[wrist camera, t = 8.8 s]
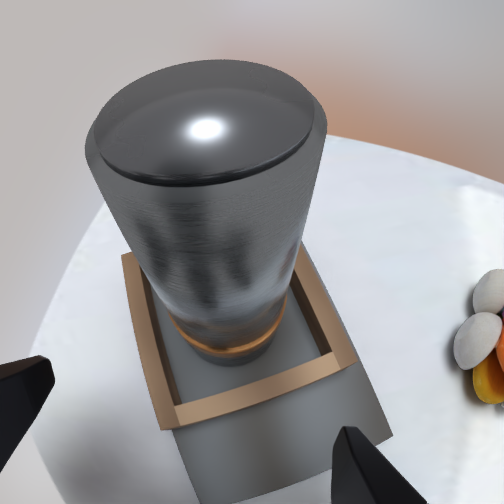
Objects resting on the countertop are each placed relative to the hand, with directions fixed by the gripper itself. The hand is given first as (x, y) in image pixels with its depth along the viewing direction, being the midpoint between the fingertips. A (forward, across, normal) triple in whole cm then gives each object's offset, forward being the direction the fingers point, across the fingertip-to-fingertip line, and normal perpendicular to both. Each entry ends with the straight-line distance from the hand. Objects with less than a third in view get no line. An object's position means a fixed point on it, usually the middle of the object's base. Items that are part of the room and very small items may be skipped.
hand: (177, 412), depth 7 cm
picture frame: (+9, -2, +3) cm, 9 cm away
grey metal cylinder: (+10, 0, +2) cm, 10 cm away
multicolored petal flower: (+10, -19, +2) cm, 22 cm away
